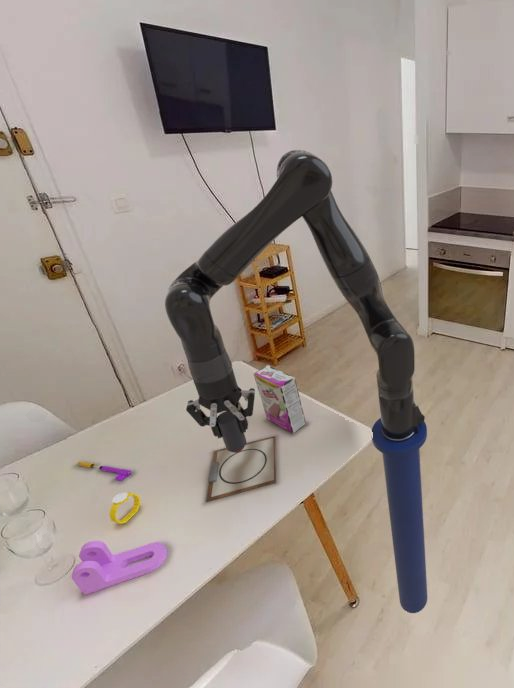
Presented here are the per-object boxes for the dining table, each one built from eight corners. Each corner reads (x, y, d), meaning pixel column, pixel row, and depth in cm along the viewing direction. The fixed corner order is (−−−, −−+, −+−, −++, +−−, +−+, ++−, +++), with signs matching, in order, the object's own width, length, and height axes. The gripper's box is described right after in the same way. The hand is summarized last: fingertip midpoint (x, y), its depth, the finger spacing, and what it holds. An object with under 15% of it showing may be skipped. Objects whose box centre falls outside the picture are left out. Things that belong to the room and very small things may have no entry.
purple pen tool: (133, 472, 100) (81, 462, 103) (130, 469, 99) (78, 459, 102) (125, 482, 98) (73, 472, 101) (122, 480, 97) (69, 469, 100)
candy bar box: (266, 420, 115) (252, 373, 107) (280, 410, 119) (267, 364, 111) (293, 435, 110) (280, 386, 102) (307, 424, 113) (295, 376, 105)
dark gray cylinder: (247, 439, 97) (238, 408, 93) (247, 452, 94) (237, 420, 89) (228, 443, 96) (217, 412, 92) (226, 457, 93) (215, 425, 88)
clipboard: (275, 437, 109) (274, 433, 109) (276, 482, 96) (275, 479, 96) (214, 452, 105) (212, 448, 104) (206, 502, 92) (205, 498, 91)
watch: (124, 529, 86) (112, 511, 83) (113, 527, 87) (101, 509, 84) (146, 505, 92) (136, 487, 89) (136, 503, 92) (125, 485, 89)
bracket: (84, 595, 75) (67, 573, 72) (93, 567, 79) (77, 545, 76) (164, 567, 79) (151, 545, 76) (169, 542, 84) (156, 520, 80)
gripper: (169, 388, 79) (195, 452, 88) (248, 374, 83) (265, 436, 92) (176, 368, 85) (200, 429, 94) (249, 355, 90) (265, 415, 98)
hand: (232, 432), depth 93 cm, fingers closed on dark gray cylinder, 4 cm apart
